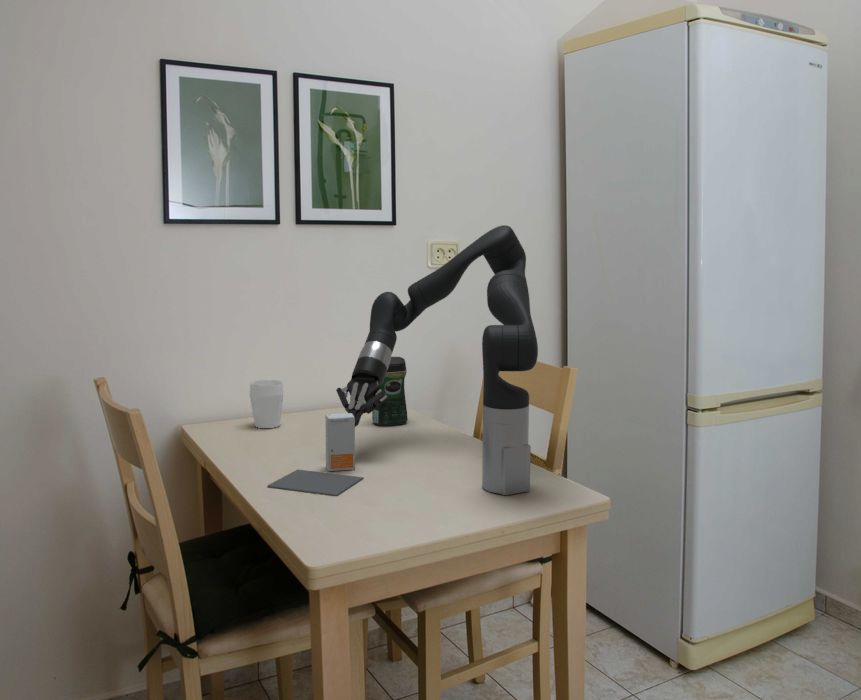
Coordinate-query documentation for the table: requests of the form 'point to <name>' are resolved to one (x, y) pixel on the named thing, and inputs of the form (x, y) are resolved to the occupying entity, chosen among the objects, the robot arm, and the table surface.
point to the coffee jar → (393, 396)
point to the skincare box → (340, 442)
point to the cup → (266, 402)
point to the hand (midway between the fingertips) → (350, 426)
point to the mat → (316, 482)
